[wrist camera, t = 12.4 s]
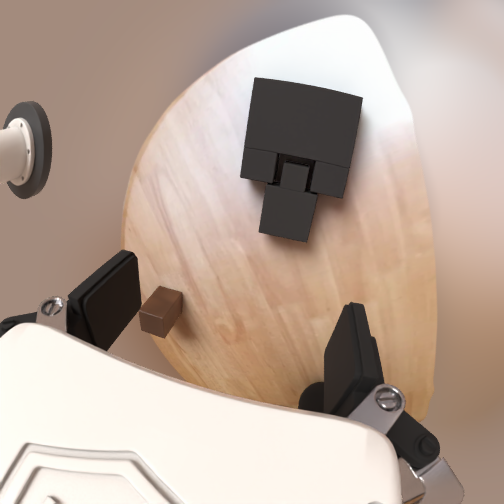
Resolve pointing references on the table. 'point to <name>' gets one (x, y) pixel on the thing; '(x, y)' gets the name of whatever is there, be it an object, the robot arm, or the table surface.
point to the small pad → (289, 204)
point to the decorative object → (313, 398)
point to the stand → (161, 311)
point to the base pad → (301, 132)
